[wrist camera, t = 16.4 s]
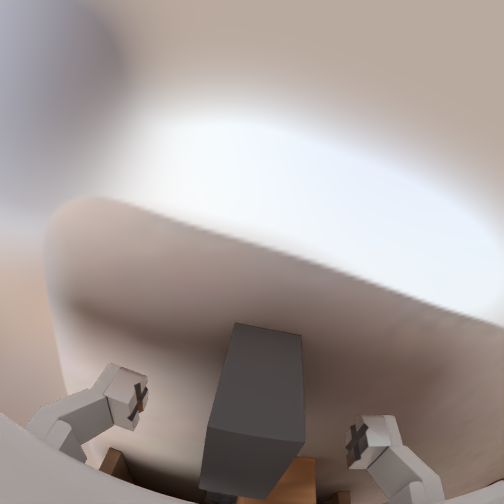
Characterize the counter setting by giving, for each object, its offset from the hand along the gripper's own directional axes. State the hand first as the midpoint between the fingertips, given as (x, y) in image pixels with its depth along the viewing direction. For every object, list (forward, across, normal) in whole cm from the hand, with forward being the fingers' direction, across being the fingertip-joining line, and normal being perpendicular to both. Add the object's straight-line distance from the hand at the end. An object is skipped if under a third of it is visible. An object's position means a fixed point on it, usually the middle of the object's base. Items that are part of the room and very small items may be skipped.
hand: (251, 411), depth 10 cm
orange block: (+2, +3, -9) cm, 10 cm away
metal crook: (+2, +2, -6) cm, 6 cm away
